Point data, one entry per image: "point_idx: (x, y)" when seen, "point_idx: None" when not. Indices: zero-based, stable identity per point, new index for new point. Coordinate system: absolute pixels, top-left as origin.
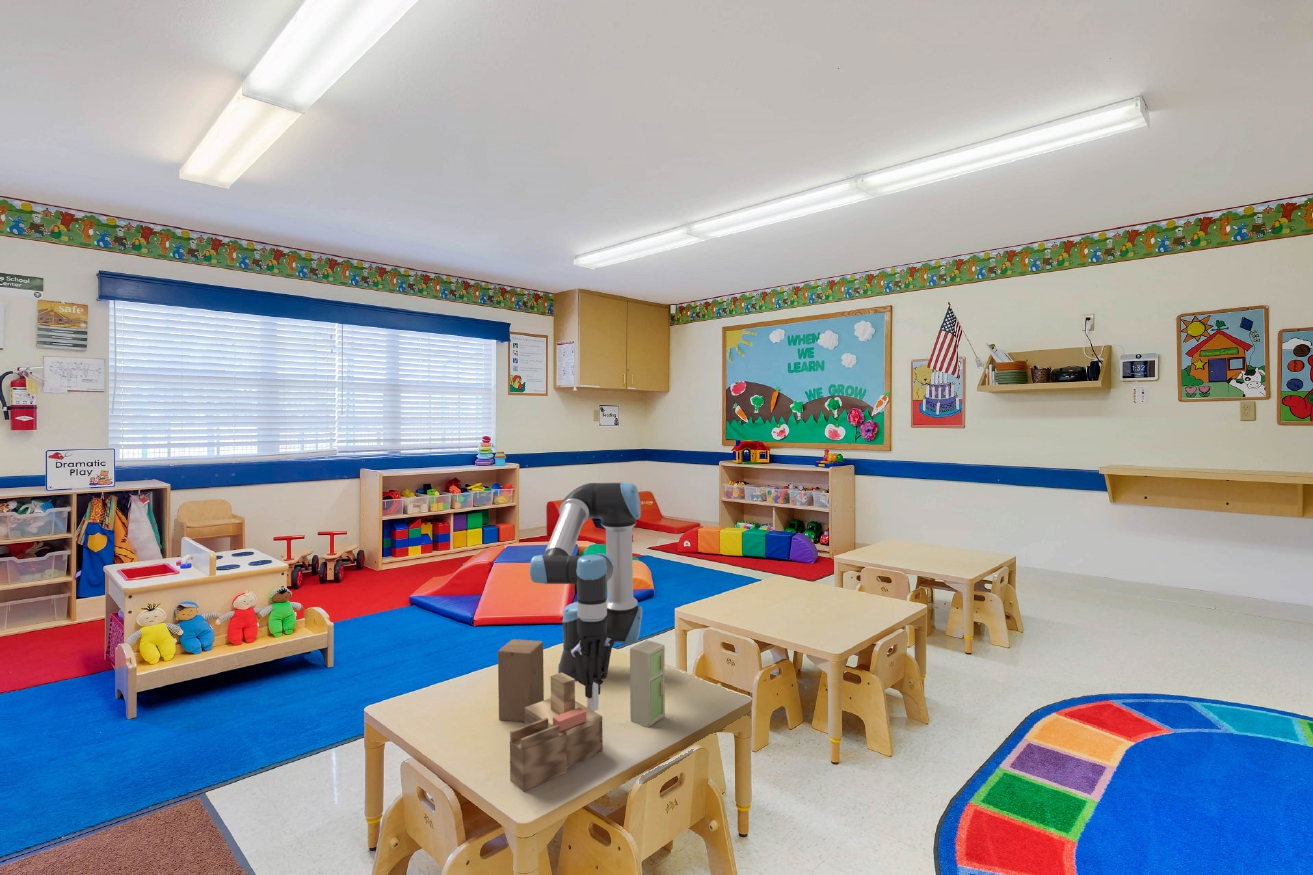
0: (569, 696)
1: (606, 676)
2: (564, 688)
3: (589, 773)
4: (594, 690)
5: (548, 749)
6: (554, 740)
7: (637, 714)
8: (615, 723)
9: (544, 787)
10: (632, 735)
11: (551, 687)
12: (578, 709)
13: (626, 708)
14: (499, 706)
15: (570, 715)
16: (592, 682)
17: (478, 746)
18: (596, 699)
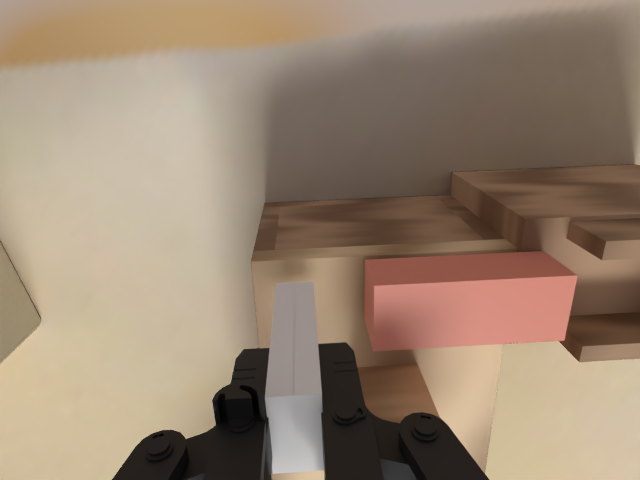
0: None
1: (141, 445)
2: None
3: (398, 102)
4: (309, 363)
5: (608, 199)
6: (594, 210)
7: (2, 308)
8: (108, 338)
9: (572, 137)
10: (94, 226)
11: None
12: (395, 332)
13: (11, 401)
14: None
15: (479, 299)
16: (333, 422)
17: (545, 461)
18: (289, 319)
